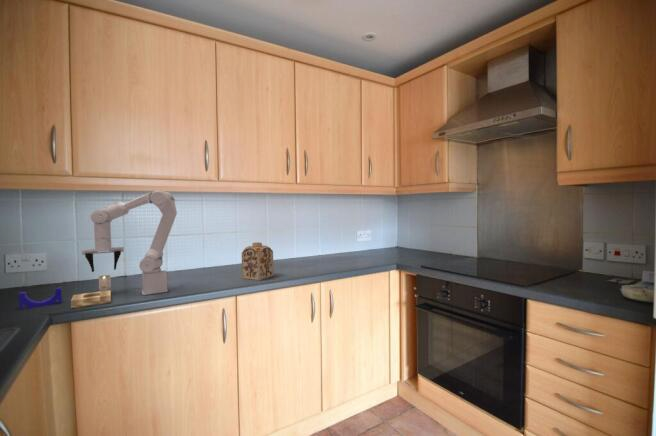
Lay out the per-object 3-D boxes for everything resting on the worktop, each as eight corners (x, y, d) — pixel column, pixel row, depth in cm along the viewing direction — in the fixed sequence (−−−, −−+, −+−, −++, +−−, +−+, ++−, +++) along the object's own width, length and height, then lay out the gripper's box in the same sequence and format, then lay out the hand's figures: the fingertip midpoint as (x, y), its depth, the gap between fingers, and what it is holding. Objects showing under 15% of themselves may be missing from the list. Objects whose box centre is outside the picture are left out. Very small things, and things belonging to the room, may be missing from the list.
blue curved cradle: (62, 301, 131) (61, 286, 130) (61, 303, 127) (61, 288, 127) (21, 307, 124) (20, 291, 123) (19, 310, 120) (18, 293, 120)
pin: (110, 292, 142) (110, 274, 142) (110, 294, 138) (110, 276, 138) (99, 294, 140) (98, 275, 139) (99, 296, 136) (98, 277, 136)
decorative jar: (241, 278, 166) (240, 243, 165) (256, 274, 176) (255, 241, 175) (260, 281, 160) (259, 244, 160) (274, 276, 170) (273, 241, 170)
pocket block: (110, 297, 134) (110, 290, 134) (110, 303, 126) (110, 295, 126) (73, 302, 128) (73, 294, 128) (71, 308, 119) (70, 300, 119)
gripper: (122, 236, 146) (124, 266, 146) (82, 238, 138) (83, 270, 138) (123, 237, 140) (124, 269, 140) (80, 239, 132) (82, 273, 132)
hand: (104, 270), depth 139 cm, fingers open, 7 cm apart
